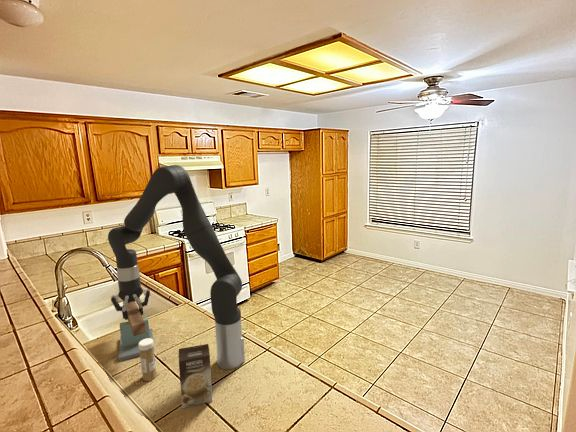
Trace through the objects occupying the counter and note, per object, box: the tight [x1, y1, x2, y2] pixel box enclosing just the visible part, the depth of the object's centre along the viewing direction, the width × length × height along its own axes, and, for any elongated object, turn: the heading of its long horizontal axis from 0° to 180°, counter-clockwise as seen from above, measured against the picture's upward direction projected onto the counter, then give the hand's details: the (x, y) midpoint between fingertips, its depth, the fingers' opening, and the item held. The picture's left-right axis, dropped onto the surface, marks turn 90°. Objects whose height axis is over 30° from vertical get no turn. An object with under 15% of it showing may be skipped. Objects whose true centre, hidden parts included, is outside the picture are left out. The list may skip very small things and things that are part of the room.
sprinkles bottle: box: [138, 338, 157, 382], centre depth 101 cm, size 5×5×13 cm
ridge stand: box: [117, 316, 155, 362], centre depth 119 cm, size 12×16×10 cm
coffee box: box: [178, 343, 213, 409], centre depth 92 cm, size 9×6×16 cm
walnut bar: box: [122, 300, 146, 336], centre depth 118 cm, size 4×26×4 cm, turn 36°
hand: (133, 317), depth 118 cm, fingers closed on walnut bar, 4 cm apart
